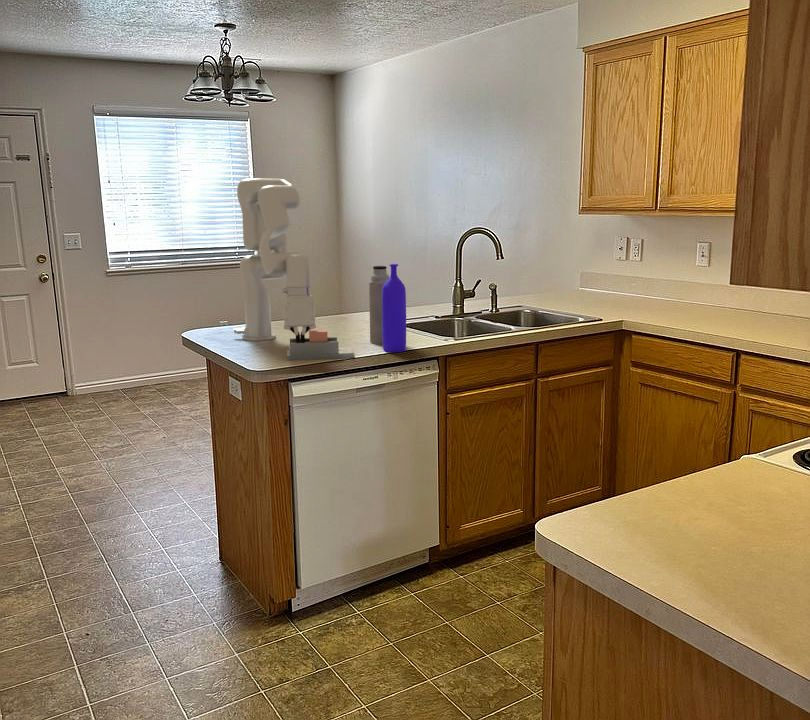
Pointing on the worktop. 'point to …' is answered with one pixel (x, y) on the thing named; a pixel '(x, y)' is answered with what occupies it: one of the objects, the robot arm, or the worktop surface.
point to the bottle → (394, 313)
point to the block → (318, 335)
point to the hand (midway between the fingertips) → (300, 346)
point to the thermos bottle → (376, 303)
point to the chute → (317, 350)
